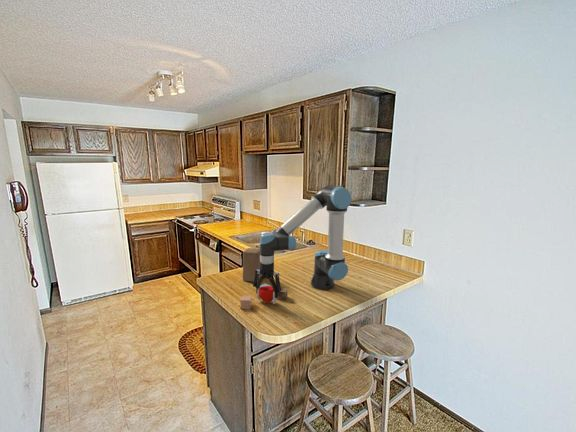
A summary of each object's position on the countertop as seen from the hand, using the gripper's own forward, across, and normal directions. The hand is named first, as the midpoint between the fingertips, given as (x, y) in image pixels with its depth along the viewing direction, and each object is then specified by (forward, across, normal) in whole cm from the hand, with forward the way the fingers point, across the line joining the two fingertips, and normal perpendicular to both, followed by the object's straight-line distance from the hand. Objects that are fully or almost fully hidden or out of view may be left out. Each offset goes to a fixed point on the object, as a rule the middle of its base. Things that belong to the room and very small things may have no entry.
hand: (266, 300), depth 151 cm
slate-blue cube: (+2, +6, -10) cm, 12 cm away
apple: (0, 0, 0) cm, 0 cm away
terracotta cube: (+1, +8, +8) cm, 12 cm away
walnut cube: (+2, -5, -10) cm, 11 cm away
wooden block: (+2, +24, -25) cm, 35 cm away
